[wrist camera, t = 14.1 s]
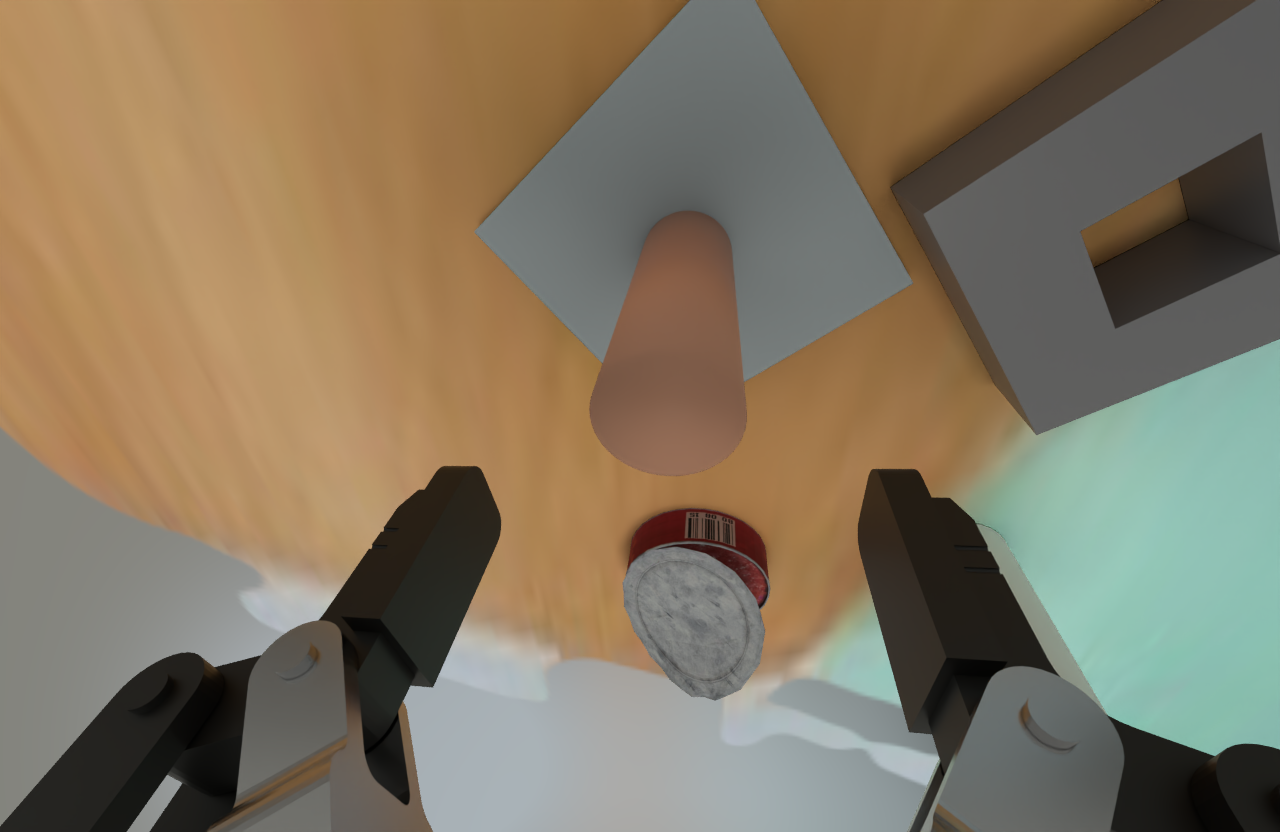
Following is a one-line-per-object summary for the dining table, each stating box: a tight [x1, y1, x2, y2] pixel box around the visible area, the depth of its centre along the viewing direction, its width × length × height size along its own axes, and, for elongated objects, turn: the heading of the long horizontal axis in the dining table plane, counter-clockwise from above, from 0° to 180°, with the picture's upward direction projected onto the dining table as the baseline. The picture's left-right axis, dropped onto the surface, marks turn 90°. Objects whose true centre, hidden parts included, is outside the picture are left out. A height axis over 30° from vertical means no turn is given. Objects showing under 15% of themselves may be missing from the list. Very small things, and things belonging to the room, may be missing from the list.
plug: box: [590, 211, 747, 476], centre depth 17 cm, size 4×4×12 cm
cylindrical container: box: [976, 524, 1107, 715], centre depth 23 cm, size 7×7×25 cm
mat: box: [475, 0, 913, 382], centre depth 22 cm, size 14×14×1 cm
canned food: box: [623, 508, 770, 700], centre depth 34 cm, size 11×10×10 cm
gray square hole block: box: [890, 0, 1280, 435], centre depth 18 cm, size 12×12×4 cm
